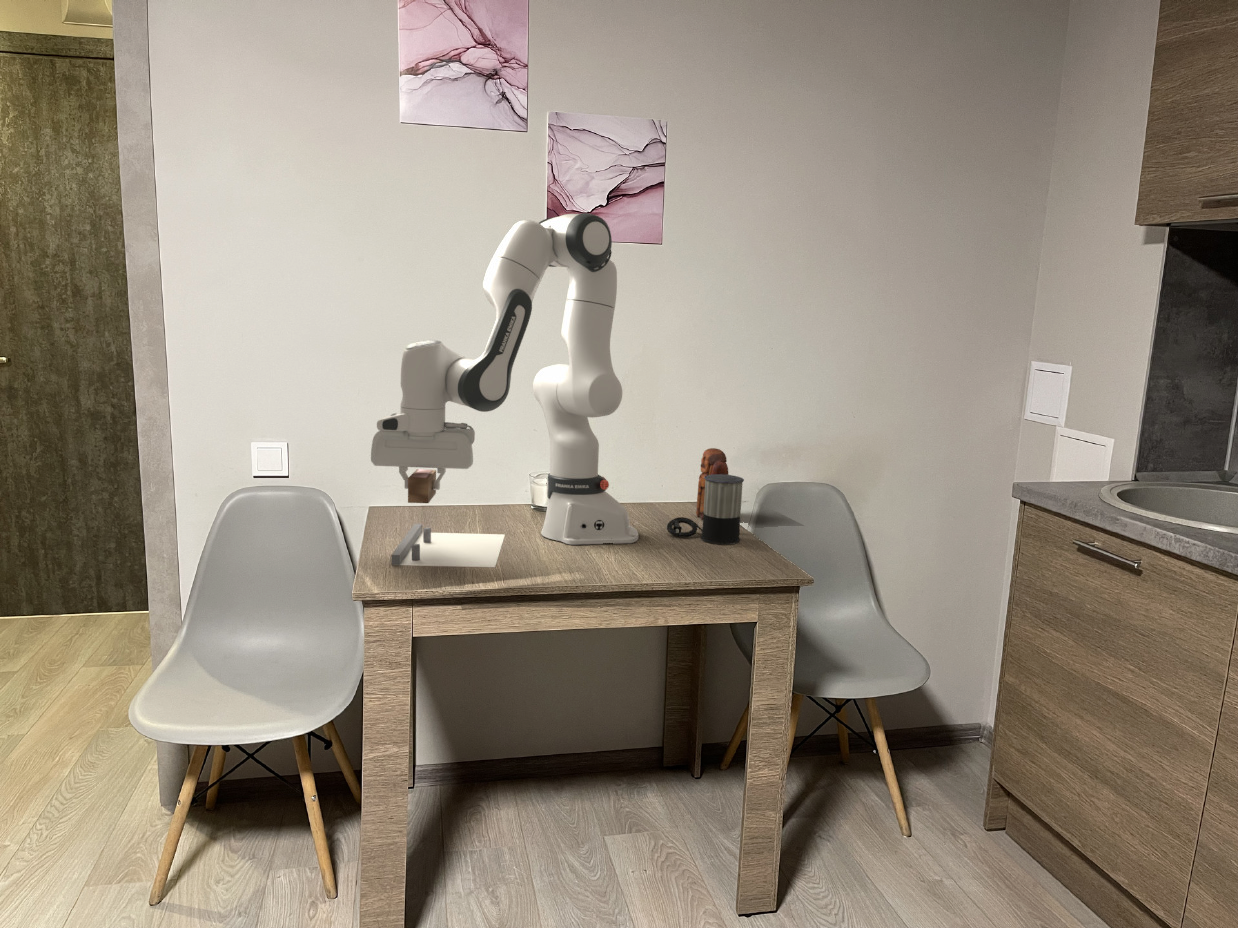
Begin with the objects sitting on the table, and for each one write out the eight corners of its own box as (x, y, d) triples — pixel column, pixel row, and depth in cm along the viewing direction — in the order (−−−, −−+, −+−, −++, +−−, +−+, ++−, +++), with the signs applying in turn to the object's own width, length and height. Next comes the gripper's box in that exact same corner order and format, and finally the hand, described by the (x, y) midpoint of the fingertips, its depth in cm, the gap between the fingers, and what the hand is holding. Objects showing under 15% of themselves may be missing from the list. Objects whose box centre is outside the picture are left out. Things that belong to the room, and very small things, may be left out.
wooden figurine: (691, 513, 236) (694, 445, 233) (714, 512, 238) (717, 445, 235) (706, 523, 225) (710, 452, 222) (730, 523, 226) (734, 452, 223)
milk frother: (746, 544, 206) (750, 481, 203) (681, 547, 201) (685, 482, 199) (723, 529, 219) (726, 470, 217) (661, 531, 215) (664, 470, 213)
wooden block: (435, 493, 189) (436, 469, 188) (428, 503, 179) (428, 477, 178) (416, 492, 189) (416, 468, 188) (407, 502, 179) (408, 477, 178)
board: (504, 539, 202) (505, 521, 201) (494, 573, 176) (495, 552, 175) (414, 537, 201) (414, 519, 200) (391, 570, 175) (391, 549, 174)
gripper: (476, 421, 185) (475, 487, 187) (375, 417, 184) (375, 484, 186) (473, 425, 179) (471, 493, 181) (368, 421, 178) (368, 490, 180)
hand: (422, 488), depth 184 cm, fingers closed on wooden block, 4 cm apart
